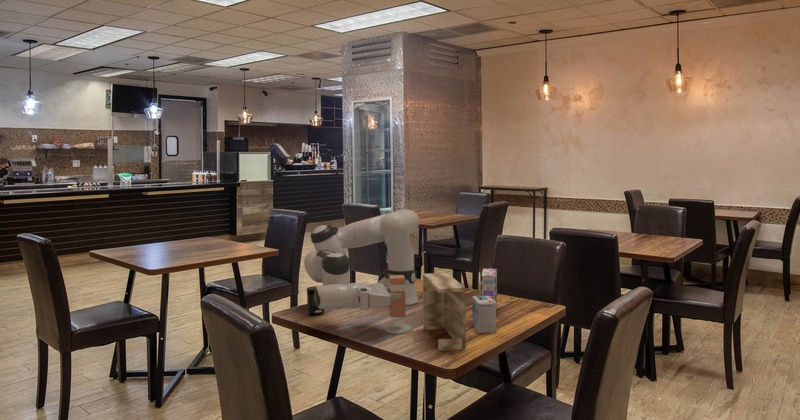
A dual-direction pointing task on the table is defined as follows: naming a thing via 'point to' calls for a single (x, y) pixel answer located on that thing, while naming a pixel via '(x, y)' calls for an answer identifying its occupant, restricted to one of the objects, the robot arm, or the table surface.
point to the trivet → (398, 328)
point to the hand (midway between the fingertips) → (399, 293)
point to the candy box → (489, 283)
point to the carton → (398, 304)
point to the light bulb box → (484, 314)
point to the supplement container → (312, 302)
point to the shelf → (445, 309)
